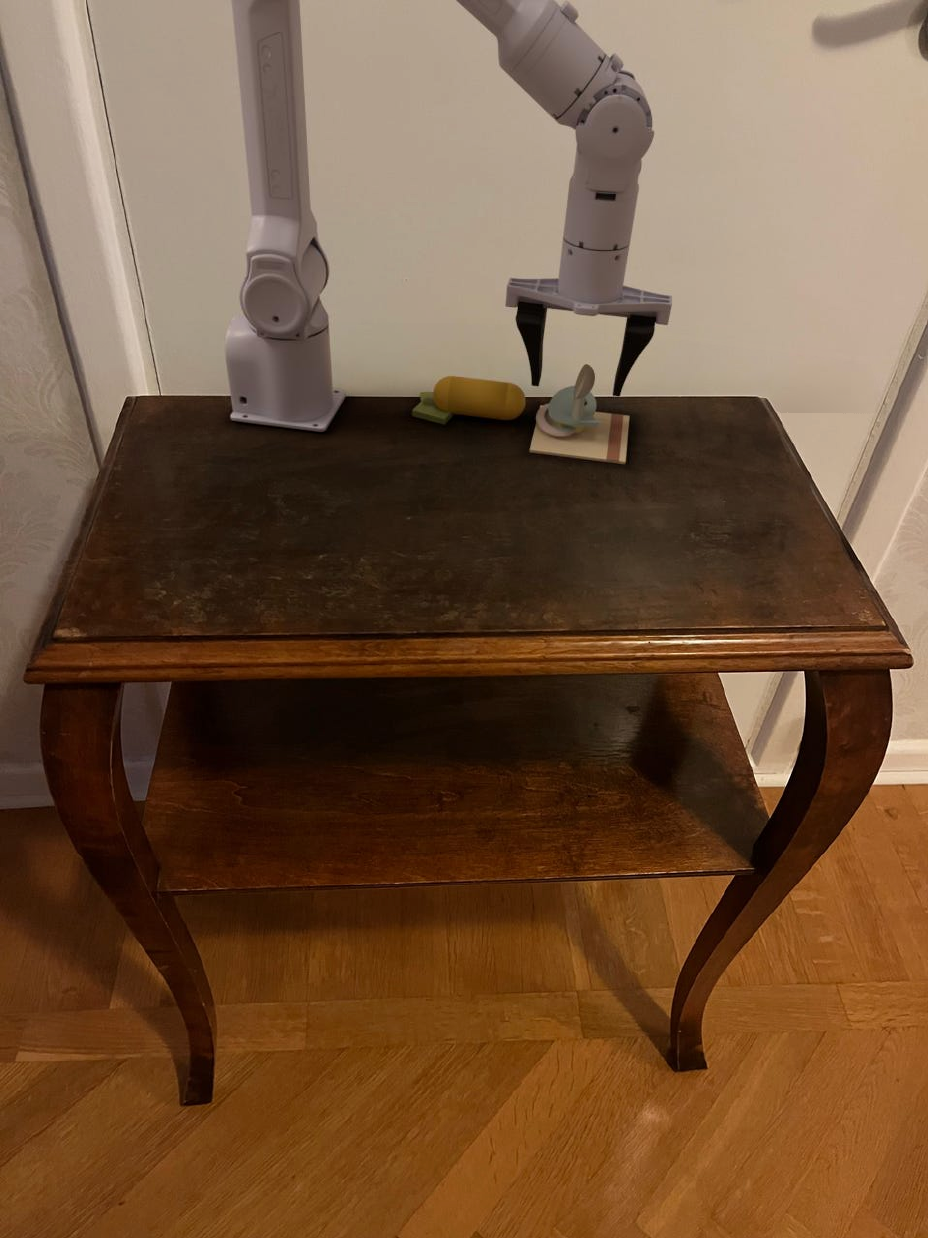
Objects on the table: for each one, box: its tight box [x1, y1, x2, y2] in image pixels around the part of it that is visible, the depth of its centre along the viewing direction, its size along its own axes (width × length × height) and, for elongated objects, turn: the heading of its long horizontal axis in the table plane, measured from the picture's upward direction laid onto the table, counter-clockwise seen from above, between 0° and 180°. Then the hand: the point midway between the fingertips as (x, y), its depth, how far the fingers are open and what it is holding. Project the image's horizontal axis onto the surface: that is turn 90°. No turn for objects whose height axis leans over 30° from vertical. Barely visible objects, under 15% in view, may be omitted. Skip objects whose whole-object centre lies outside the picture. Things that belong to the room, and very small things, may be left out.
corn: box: [411, 375, 526, 426], centre depth 89 cm, size 11×6×4 cm, turn 80°
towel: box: [529, 404, 630, 465], centre depth 88 cm, size 9×9×1 cm
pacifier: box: [535, 363, 600, 437], centre depth 87 cm, size 7×6×6 cm
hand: (576, 386), depth 86 cm, fingers open, 7 cm apart
